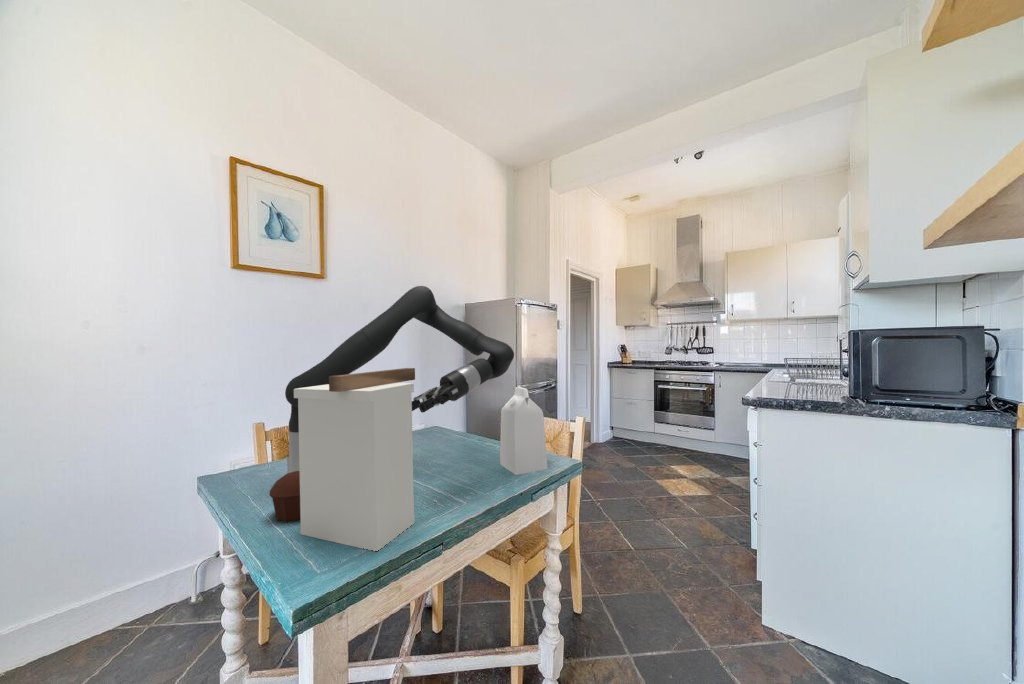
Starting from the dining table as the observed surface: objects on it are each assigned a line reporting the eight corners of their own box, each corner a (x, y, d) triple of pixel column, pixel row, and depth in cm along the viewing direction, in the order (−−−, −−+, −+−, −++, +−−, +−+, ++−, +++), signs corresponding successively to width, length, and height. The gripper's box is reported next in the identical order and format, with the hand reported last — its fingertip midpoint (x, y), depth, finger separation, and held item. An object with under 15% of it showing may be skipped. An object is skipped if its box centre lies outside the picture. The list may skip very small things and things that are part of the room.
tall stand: (296, 536, 78) (293, 388, 78) (347, 508, 91) (344, 382, 91) (373, 554, 71) (370, 391, 71) (417, 521, 84) (413, 383, 84)
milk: (547, 468, 117) (545, 388, 117) (515, 475, 112) (513, 391, 112) (529, 458, 128) (527, 385, 128) (499, 464, 123) (498, 387, 123)
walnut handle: (329, 391, 72) (328, 376, 72) (405, 379, 94) (405, 368, 94) (340, 391, 71) (340, 376, 71) (415, 379, 93) (414, 368, 93)
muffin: (261, 517, 88) (260, 475, 88) (307, 500, 97) (307, 462, 97) (284, 529, 81) (283, 485, 81) (332, 510, 90) (331, 470, 91)
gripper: (442, 372, 106) (394, 398, 95) (469, 366, 96) (419, 394, 85) (452, 395, 107) (405, 423, 96) (480, 392, 97) (432, 422, 86)
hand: (412, 409), depth 91 cm, fingers open, 8 cm apart
